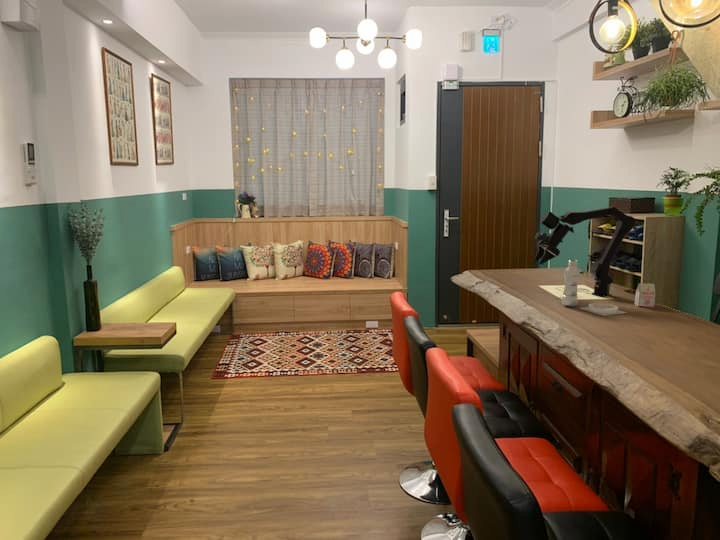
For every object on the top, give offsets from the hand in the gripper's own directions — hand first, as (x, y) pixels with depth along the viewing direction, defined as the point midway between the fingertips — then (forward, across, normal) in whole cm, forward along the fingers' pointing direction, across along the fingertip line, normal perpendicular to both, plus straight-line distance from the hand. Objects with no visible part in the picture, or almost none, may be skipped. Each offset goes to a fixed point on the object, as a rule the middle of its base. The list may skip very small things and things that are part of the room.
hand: (537, 262), depth 271 cm
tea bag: (-10, +20, +44) cm, 49 cm away
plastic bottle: (+8, +25, +16) cm, 30 cm away
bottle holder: (+1, +32, +25) cm, 40 cm away
